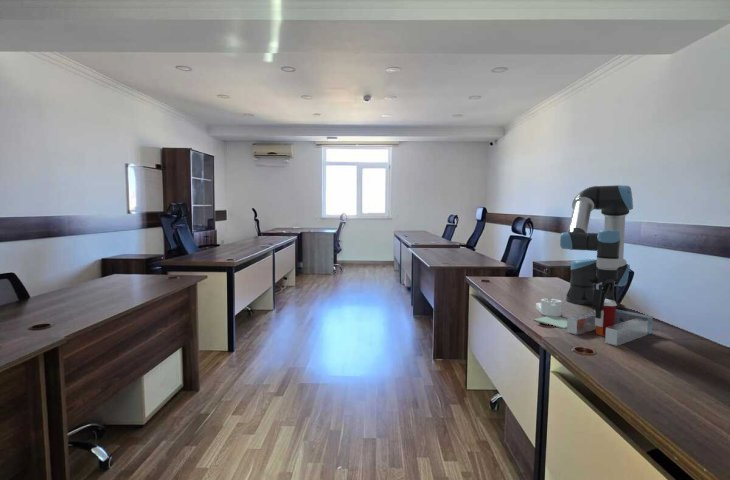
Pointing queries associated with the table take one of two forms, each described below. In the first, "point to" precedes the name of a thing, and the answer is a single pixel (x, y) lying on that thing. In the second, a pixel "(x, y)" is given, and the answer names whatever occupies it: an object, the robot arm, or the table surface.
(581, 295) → the robot arm
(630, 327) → the vise
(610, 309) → the paper cup
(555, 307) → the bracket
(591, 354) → the table surface
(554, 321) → the mat
